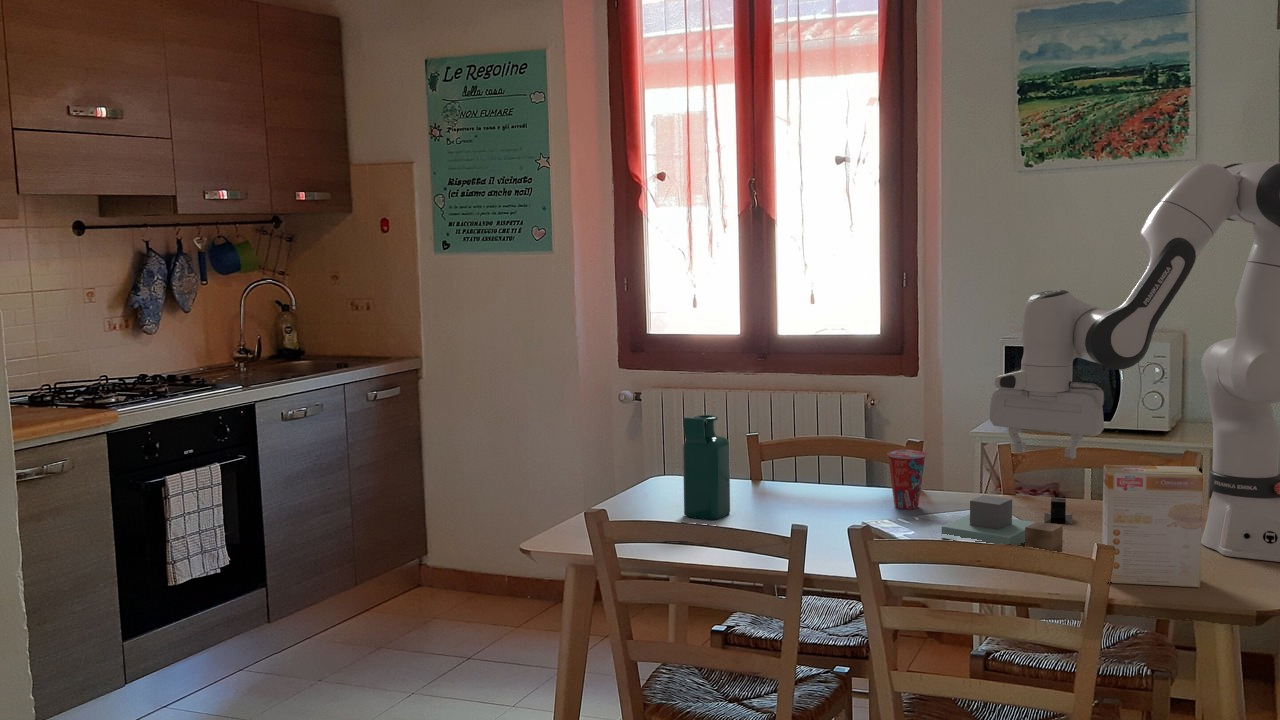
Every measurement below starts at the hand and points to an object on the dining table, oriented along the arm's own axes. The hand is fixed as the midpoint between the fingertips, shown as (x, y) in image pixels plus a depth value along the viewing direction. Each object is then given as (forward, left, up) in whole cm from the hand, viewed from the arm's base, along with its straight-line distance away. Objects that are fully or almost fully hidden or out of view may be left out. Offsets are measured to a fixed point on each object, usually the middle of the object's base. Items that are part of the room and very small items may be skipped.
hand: (1044, 455), depth 212 cm
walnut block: (0, 0, -19) cm, 19 cm away
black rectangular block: (+9, -30, -20) cm, 38 cm away
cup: (+40, -21, -20) cm, 49 cm away
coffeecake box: (-20, +2, -20) cm, 28 cm away
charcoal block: (+14, -8, -17) cm, 23 cm away
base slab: (+14, -8, -19) cm, 25 cm away
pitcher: (+70, +12, -20) cm, 74 cm away
